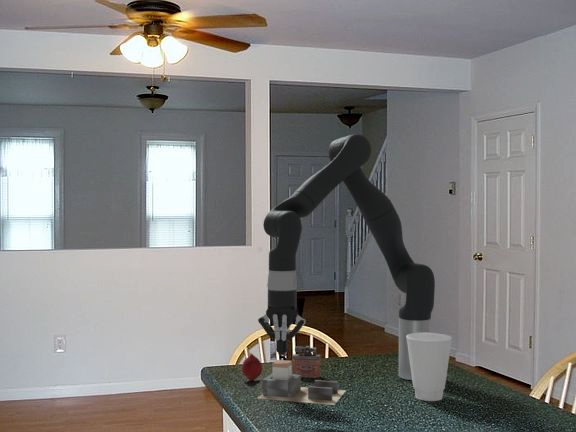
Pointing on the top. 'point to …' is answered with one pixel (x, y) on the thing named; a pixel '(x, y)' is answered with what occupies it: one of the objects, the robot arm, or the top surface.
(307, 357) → the lighter
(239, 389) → the top surface
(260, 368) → the onion
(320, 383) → the panel
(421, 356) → the cup
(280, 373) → the plug
